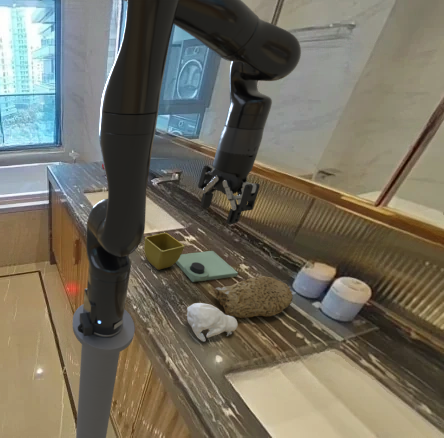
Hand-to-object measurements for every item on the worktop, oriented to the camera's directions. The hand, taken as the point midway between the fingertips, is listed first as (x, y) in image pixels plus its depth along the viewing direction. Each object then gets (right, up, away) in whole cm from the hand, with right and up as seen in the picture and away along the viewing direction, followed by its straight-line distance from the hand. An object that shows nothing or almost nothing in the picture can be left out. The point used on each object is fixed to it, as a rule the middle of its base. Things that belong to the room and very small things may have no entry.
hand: (217, 214), depth 68 cm
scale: (+9, -17, +23) cm, 30 cm away
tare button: (+4, -17, +18) cm, 25 cm away
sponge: (+15, -25, +9) cm, 30 cm away
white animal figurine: (-1, -29, +2) cm, 29 cm away
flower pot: (-5, -16, +25) cm, 30 cm away
